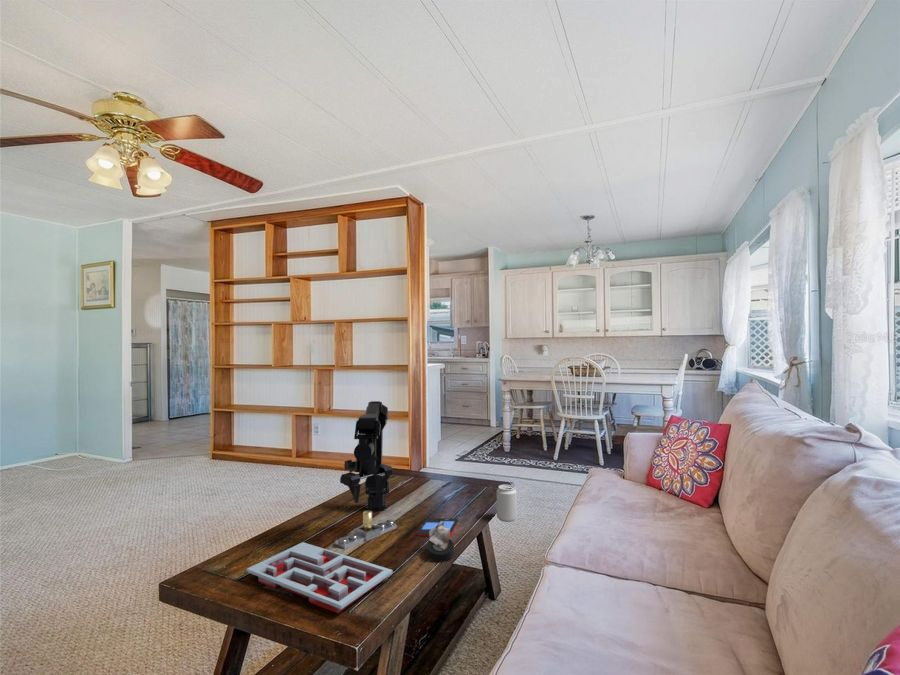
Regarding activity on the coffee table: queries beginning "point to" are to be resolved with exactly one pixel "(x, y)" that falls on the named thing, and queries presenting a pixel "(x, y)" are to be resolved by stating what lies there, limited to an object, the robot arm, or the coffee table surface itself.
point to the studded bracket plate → (365, 534)
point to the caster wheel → (440, 544)
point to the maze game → (320, 575)
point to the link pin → (367, 520)
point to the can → (506, 503)
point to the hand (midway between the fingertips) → (367, 499)
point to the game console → (433, 522)
